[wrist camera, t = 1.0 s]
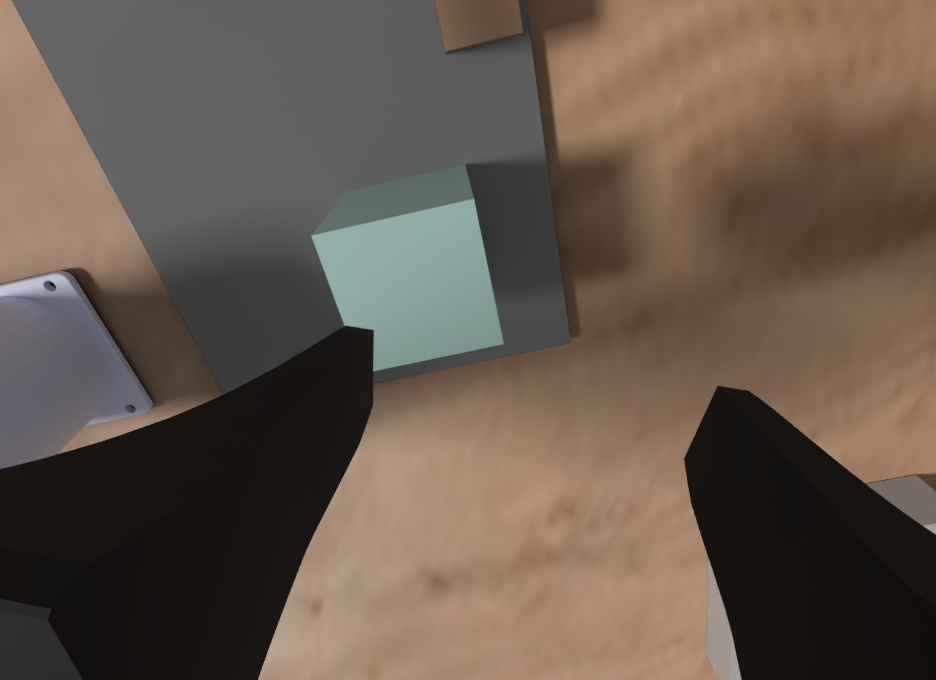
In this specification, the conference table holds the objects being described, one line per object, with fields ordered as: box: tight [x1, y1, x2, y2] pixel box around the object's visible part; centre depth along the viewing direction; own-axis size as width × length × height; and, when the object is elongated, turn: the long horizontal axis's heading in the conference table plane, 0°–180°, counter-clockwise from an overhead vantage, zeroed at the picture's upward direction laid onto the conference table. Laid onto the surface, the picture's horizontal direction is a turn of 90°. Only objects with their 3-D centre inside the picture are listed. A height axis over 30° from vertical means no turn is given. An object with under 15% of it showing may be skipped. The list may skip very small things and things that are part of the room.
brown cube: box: [434, 0, 523, 54], centre depth 17 cm, size 3×3×3 cm
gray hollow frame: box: [706, 475, 936, 680], centre depth 34 cm, size 13×16×4 cm
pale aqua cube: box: [311, 164, 504, 371], centre depth 20 cm, size 5×5×7 cm
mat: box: [12, 0, 571, 394], centre depth 21 cm, size 18×24×1 cm
